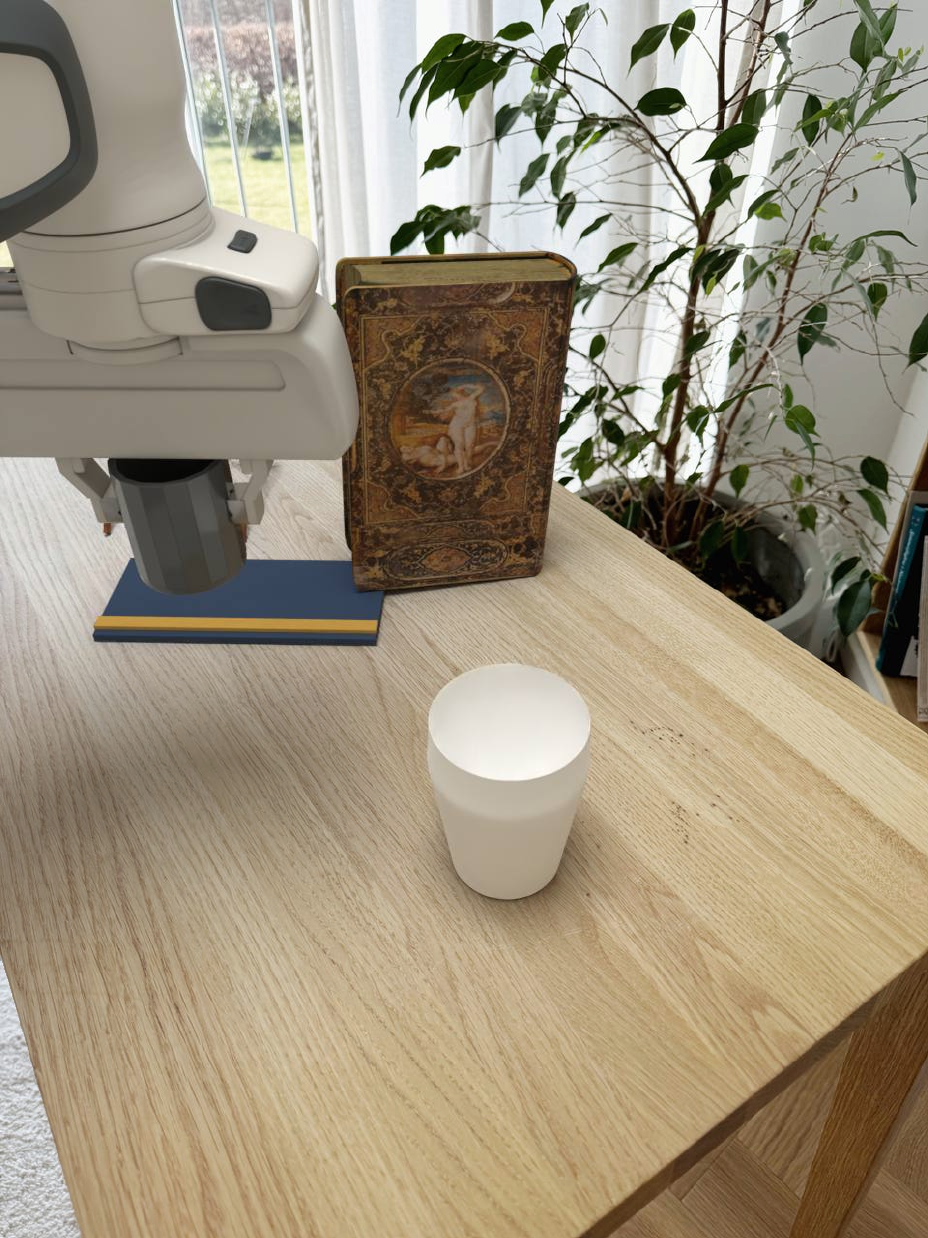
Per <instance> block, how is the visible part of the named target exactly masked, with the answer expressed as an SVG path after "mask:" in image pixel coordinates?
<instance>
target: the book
mask: <svg viewBox="0 0 928 1238" xmlns="http://www.w3.org/2000/svg"><path fill="white" fill-rule="evenodd" d="M335 264H336V265H335V269H334V270H335V271H334V273H335V274H334V283H335V284H334V285H335V286H334V288H335V311H336V313H337V315H338V317H339V319H340V322H341V324H342V327H343V330H344V333H345V337H346V341H347V345H348V348H349V352H350V356H351V361H352V366H353V370H354V376H355V381H356V387H357V394H358V402H359V422H358V428H357V432H356V435H355V439H354V441H353V443H352V444H351V446H350V447H349V449H348V450H347V451H346V452H345V453H344V455H343V456H342V457H341V473H342V474H341V475H342V499H343V500H342V501H343V503H342V505H343V523H344V539H345V542H346V546H347V549H348V550H349V551H350V553H351V554H350V555H351V556H350V557H351V561H352V574H353V578H354V582H355V585H356V587H357V588H358V589H360V590H363V591H368V590H385V591H386V590H401V589H402V590H403V589H409V588H412V589H413V588H419V587H420V588H421V587H422V588H423V587H431V586H441V585H451V584H453V585H454V584H461V583H462V584H463V583H472V582H473V583H475V582H483V581H494V580H495V581H496V580H504V579H515V578H526V577H535V576H537V575H538V574H540V572H541V571H542V569H543V565H544V564H543V563H544V556H545V548H546V541H547V533H548V532H547V531H548V523H549V513H550V505H551V499H552V498H551V497H552V489H553V480H554V471H555V466H556V465H555V463H556V454H557V447H558V439H559V431H560V421H561V414H562V407H563V406H562V405H563V396H564V388H565V379H566V373H567V372H566V371H567V364H568V363H567V362H568V354H569V347H570V340H571V339H570V338H571V330H572V321H573V312H574V306H575V305H574V304H575V298H576V297H575V296H576V287H577V279H578V268H577V266H576V264H575V263H574V262H573V261H572V260H571V259H569V258H568V257H566V256H564V255H562V254H560V253H556V252H553V251H548V250H531V251H530V250H529V251H501V252H499V251H498V252H472V253H471V252H470V253H469V252H468V253H442V254H439V253H438V254H410V255H408V254H407V255H381V256H379V255H377V256H352V257H351V256H350V257H349V256H348V257H346V256H345V257H342V258H340V259H339V260H338V261H337V262H336V263H335Z"/></svg>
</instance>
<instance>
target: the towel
mask: <svg viewBox="0 0 928 1238" xmlns="http://www.w3.org/2000/svg"><path fill="white" fill-rule="evenodd" d="M115 586H116V587H115V588H114V590H113V592H112V594H111V596H110V598H109V600H108V602H107V604H106V606H105V607H104V610H103V612H102V614H101V615H98V616H97V617H96V619H95V621H94V623H93V625H92V626H93V629H94V630H93V632H92V634H91V635H92V639H93V641H94V642H118V643H119V642H125V643H127V642H128V643H129V642H130V643H187V644H189V643H190V644H243V645H245V644H247V645H249V644H250V645H256V644H257V645H304V646H305V645H310V646H311V645H312V646H317V645H319V646H367V647H368V646H369V647H370V646H373V647H374V646H377V644H378V637H379V631H380V624H381V618H382V612H383V605H384V600H385V592H386V590H368V591H363V590H360V589H358V588H357V587H356V585H355V582H354V578H353V574H352V560H338V559H336V560H332V559H330V560H329V559H267V558H266V559H264V558H263V559H262V558H261V559H259V558H255V559H253V558H247V559H246V563H245V565H244V567H243V568H242V570H241V571H240V572H239V573H238V575H237V576H235V577H234V578H233V579H232V580H230V581H229V582H227V583H225V584H224V585H222V586H220V587H217V588H215V589H212V590H210V591H206V592H202V593H197V594H190V595H172V594H166V593H162V592H159V591H156V590H154V589H152V588H150V587H149V586H148V585H146V584H145V582H144V581H143V580H142V578H141V576H140V574H139V572H138V568H137V565H136V562H135V558H134V557H130V558H129V560H128V562H127V564H126V566H125V568H124V570H123V572H122V574H121V576H120V578H119V580H118V582H117V584H116V585H115Z"/></svg>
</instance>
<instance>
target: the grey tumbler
mask: <svg viewBox="0 0 928 1238" xmlns="http://www.w3.org/2000/svg"><path fill="white" fill-rule="evenodd" d="M229 460H230V459H139V458H107V461H106V465H107V471H108V476H109V477H110V478H111V482H112V485H113V488H114V492H115V495H116V498H117V502H118V505H119V508H120V512H121V515H122V518H123V522H124V523H123V525H124V528H125V532H126V535H127V538H128V541H129V544H130V548H131V551H132V554H133V558H135V562H136V565H137V568H138V572H139V574H140V576H141V578H142V580H143V581H144V582H145V584H146V585H148V586H149V587H150V588H152V589H154V590H156V591H159V592H162V593H166V594H172V595H190V594H197V593H202V592H206V591H210V590H212V589H215V588H217V587H220V586H222V585H224V584H225V583H227V582H229V581H230V580H232V579H233V578H234V577H235V576H237V575H238V573H239V572H240V571H241V570H242V568H243V567H244V565H245V563H246V559H248V552H247V551H248V549H247V548H248V547H247V544H246V541H245V539H244V534H243V529H242V524H232V523H231V519H230V517H231V515H232V513H231V512H230V511H229V509H228V505H227V499H228V498H229V496H230V494H231V493H232V489H233V486H234V485H233V484H234V481H233V480H234V479H233V475H232V471H231V466H230V465H231V464H230V461H229Z"/></svg>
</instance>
